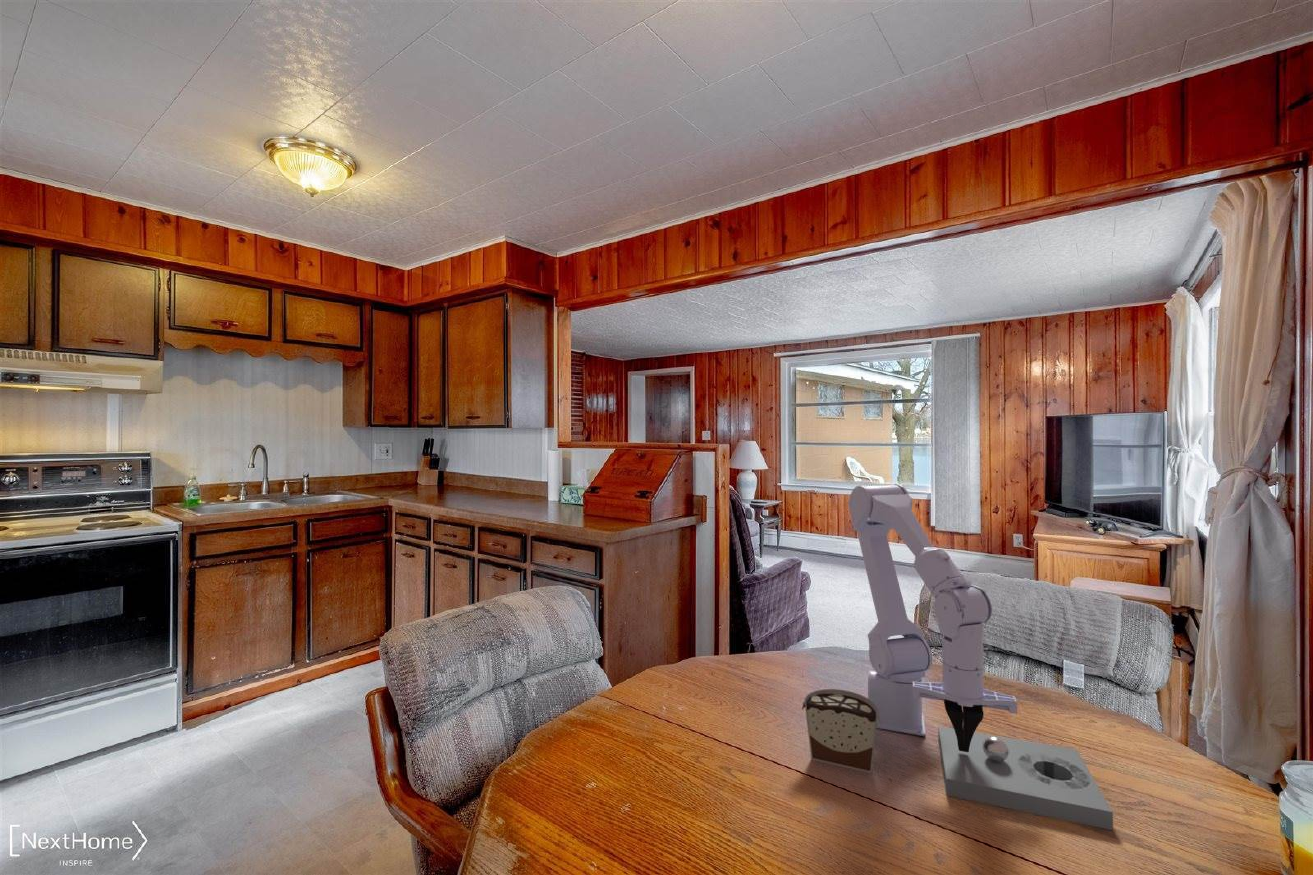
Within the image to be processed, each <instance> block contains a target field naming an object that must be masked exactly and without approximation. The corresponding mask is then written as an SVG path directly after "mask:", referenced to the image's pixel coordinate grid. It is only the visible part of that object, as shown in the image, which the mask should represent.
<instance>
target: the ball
mask: <svg viewBox="0 0 1313 875" xmlns="http://www.w3.org/2000/svg"><path fill="white" fill-rule="evenodd" d="M995 736H996V735H994V736H990V737H987V738H986V739H985V740H984V742H983V750H984V753H985V754H986V756H987V757H988V758H990V759H991V760H993V761H996V762H1002V761H1004V760H1006V759H1007V757H1008V754H1009V750H1008V747H1007V745H1006V743H1005V742H1004V741H1003V740H1002V739H1000V738H998V737H995Z"/></svg>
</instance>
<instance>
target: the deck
mask: <svg viewBox="0 0 1313 875" xmlns="http://www.w3.org/2000/svg"><path fill="white" fill-rule="evenodd" d="M937 727H938V733H937V734H938V735H937V736H938V737H937V738H938V748H939V754H940V760H941V766H942V767H941V768H942V773H943V780H944V786H945V787H944V788H945V795H946V796H949V797H953V798H958V799H961V800H962V799H963V800H966V801H971V802H977V803H981V804H986V805H991V806H995V807H999V808H1000V807H1001V808H1006V809H1009V810H1014V811H1018V812H1024V813H1028V814H1032V815H1037V816H1042V817H1046V818H1047V817H1048V818H1052V819H1056V820H1060V821H1066V822H1070V823H1074V824H1081V825H1085V826H1089V827H1095V828H1099V829H1103V830H1109V831H1114V814H1113V813H1114V812H1113V810H1112V808H1111V807H1110V805H1109V803H1108V802H1107V799H1106V798H1105V796H1104V794H1103V793H1102V791H1101V789H1100V788H1099V785H1098V784H1097V782H1096V780H1095V778H1094V777H1093V774H1092V773H1091V772H1090V770H1089V768H1088V766H1087V765H1086V763H1085V761H1084V760H1083V758H1082V756H1081V754H1080V751H1079V750H1078V749H1075V748H1071V747H1069V748H1068V747H1064V746H1060V745H1059V746H1058V745H1052V744H1046V743H1041V742H1034V741H1029V740H1023V739H1017V738H1016V739H1015V738H1011V737H1005V736H999V735H994V734H987V733H984V732H983V733H981V732H976V731H975V732H974V734H973V737H972V740H971V743H970V747H969V752H963V751H959V749H958V743H957V737H956V733H955V730H954V728H951V727H946V726H940V725H938V726H937ZM990 736H995V737H998V738H1000V739H1002V740H1003V741H1004V742H1005V743H1006V745H1007V747H1008V750H1009V754H1008V757H1007V759H1006V760H1004V761H1002V762H996V761H993V760H991V759H990V758H988V757H987V756H986V754H985V753H984V750H983V742H984V740H985V739H986V738H987V737H990Z"/></svg>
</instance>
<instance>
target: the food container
mask: <svg viewBox="0 0 1313 875" xmlns="http://www.w3.org/2000/svg"><path fill="white" fill-rule="evenodd" d="M804 709H805V715H806V716H805V717H806V725H807V732H808V743H809V751H810V759H811V760H812V761H817V762H821V763H826V764H829V765H833V766H839V767H842V768H846V769H847V768H848V769H852V770H856V771H861V772H865V773H869V774H872V773H873V765H874V754H875V744H876V736H877V735H876V734H877V728H876V726H877V717H878V719H879V722H880V725H881V720H880V715H879V712H878V710H877V707H876V705H875V704H874V703H873V702H872V701H871V700H869V699H868V697H866V696H864V695H862V694H860V693H856V692H853V691H850V690H845V689H836V688H823V689H818V690H814V691H811V692H809V693H808V694H807V695H806V696H805V697H804V699H803V701H802V706H801V710H802V711H803V710H804Z"/></svg>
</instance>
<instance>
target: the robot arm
mask: <svg viewBox="0 0 1313 875" xmlns="http://www.w3.org/2000/svg"><path fill="white" fill-rule="evenodd" d="M847 503H848V509H849V513H850V518H851V521H852V526H853V530H854V531H856V533H857V538H858V542H859V545H860V546H859V547H860V551H861V553H862V554H861V555H862V558H863V563H864V567H865V572H866V576H867V580H868V584H869V588H870V593H871V598H872V601H873V604H874V605H873V606H874V609H875V614H876V618H877V623H876V624H875V625H874V627H873V628H871V630H870V631H869V632H868V633H867V639H868V658H869V662H870V664H871V667H872V668H873V669H869V670H868V672H867V673H868V674H867V698H868V699H869V700H871V701H872V702H873V703H874V704H875V705H876V707H877V710H878V712H879V715H880V720H881V725H880V722H879V719H878V717H877V726H876V729H881V730H885V731H887V730H888V731H893V732H899V733H903V734H909V735H915V736H920V737H925V736H926V733H927V732H926V725H925V717H924V714H923V698H925V699H931V700H937V701H942V702H943V703H944V710H945V712H946V714H947V716H948V718H949V720H950V722H951V724H952V727H953V729H954V730H955V733H956V737H957V743H958V749H959V751H963V752H969V747H970V743H971V740H972V737H973V734H974V732H976V730H977V728H978V727H979V725H980V723H981V722H982V721H983V719H984V716H985V714H984V708H987V709H995V710H1002V711H1006V712H1007V711H1008V713H1010V714H1018V701H1017V698H1016V696H1015V695H1010V694H1004V693H1001V692H996V691H993V690H989V689H986V688H984V625H983V624H985V623H988V622H989V621H990V619H991V618H992V615H993V606H992V602H991V599H990V597H989V596H988V594H987V593H986V590H984V589H983V588H982V587H980V586H978V585H975V584H974V583H973V582H972V581H970V580H967V579H966V578H965V577H964V575H963V573H961V571H960V569H959V568H958V567H957V566H956V564H955V563H954V562H953V560H952V559H951V556H950V555H949V554H948V552H947V551H945V549H943V548H942V549H941V548H938V547H934V545H933V544H932V542H931V540H930V539H929V537H928V535H927V534H926V532H925V530H924V529H923V527H922V525H921V524H920V522H919V520H918V518H917V517H916V515H915V512H913V498H912V497H911V496H910V494H909V492H908V491H907V489H906V487H904V486H903V485H901V484H899V483H898V484H897V483H895V484H889V485H867V486H866V485H865V486H864V485H857V486H855V487H853V489H852V491H851V493H850V495H849V498H848V501H847ZM892 529H893V530H894V531H895V533H896V534H897V535H898V537H899V538H900V539H901V541H902V542H903V543H904V544H905V546H906V547H907V548H908V549H909V550H910V552H911V553H912V554H913V555H914V557H915V558H914V562H913V567H914V570H915V571H916V572H917V574H918V575H919V577H920V579H921V580H922V581H923V583H924V585H925V586H926V587H927V589H928V591H929V592H930V594H931V595H932V596H933V598H934V601H933V602H932V605H933V606H932V608H933V610H934V615H935V616H936V618H937V621H938V630H939V632H940V634H941V636H942V637H941V638H942V639H941V640H942V641H941V642H942V643H941V644H942V646H941V647H942V650H941V651H942V654H941V656H942V682H939V681H938V682H933V681H932V682H925V681H924V682H923V678H925V677H926V672H927V671H929V670H930V669H931V667H932V665H933V653H932V649H931V647H930V645H929V644H928V642H927V640H926V639H925V635H924V633H923V629H922V628H921V627H920V626H918V625H917V624H916V623H914V622H913V621H911V620H910V619H909V618H908V615H907V610H906V606H905V602H904V598H903V594H902V591H901V588H900V582H899V579H898V576H897V575H898V574H897V572H896V567H895V563H894V559H893V555H892V551H891V547H890V543H889V539H888V535H889V533H890V531H891V530H892ZM895 636H902V637H897V638H891V637H895Z"/></svg>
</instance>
